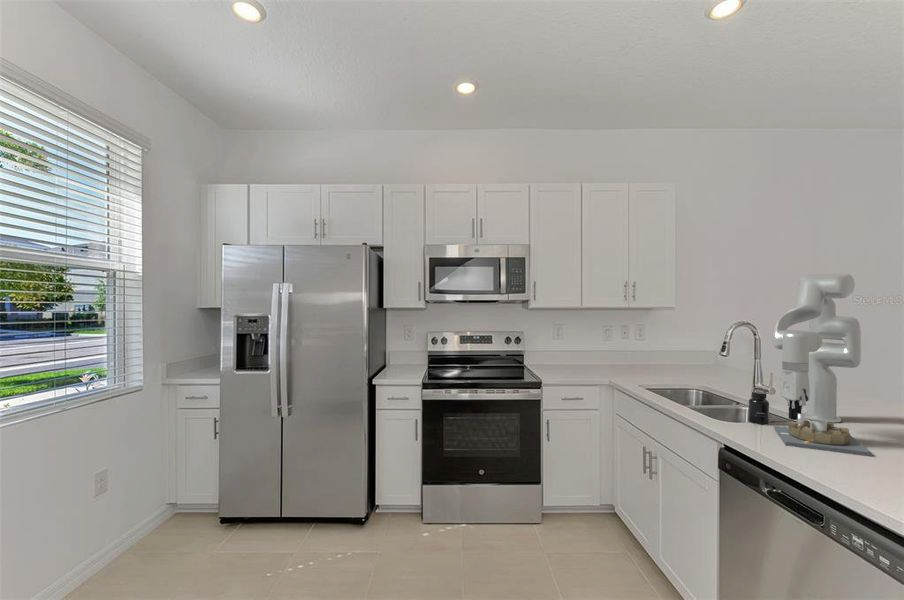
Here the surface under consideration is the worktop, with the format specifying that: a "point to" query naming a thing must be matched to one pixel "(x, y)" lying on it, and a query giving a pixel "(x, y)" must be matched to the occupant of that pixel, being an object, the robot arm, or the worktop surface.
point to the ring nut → (818, 432)
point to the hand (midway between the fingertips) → (794, 419)
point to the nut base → (849, 448)
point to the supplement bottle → (758, 409)
